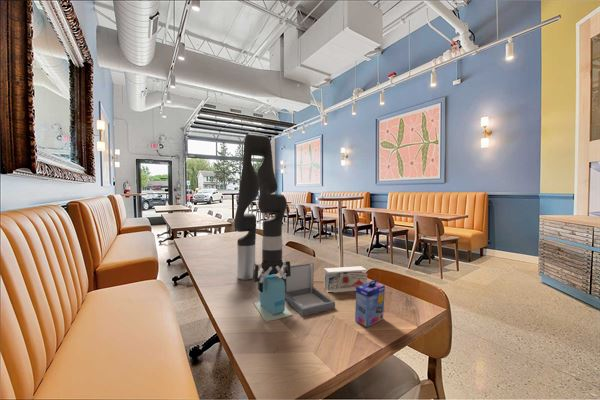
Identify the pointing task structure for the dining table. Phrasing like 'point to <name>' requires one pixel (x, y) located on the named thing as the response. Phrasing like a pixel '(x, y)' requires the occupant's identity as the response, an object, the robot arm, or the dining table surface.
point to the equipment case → (305, 291)
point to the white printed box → (344, 278)
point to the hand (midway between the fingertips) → (272, 289)
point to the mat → (267, 315)
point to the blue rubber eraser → (273, 294)
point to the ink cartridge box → (369, 303)
